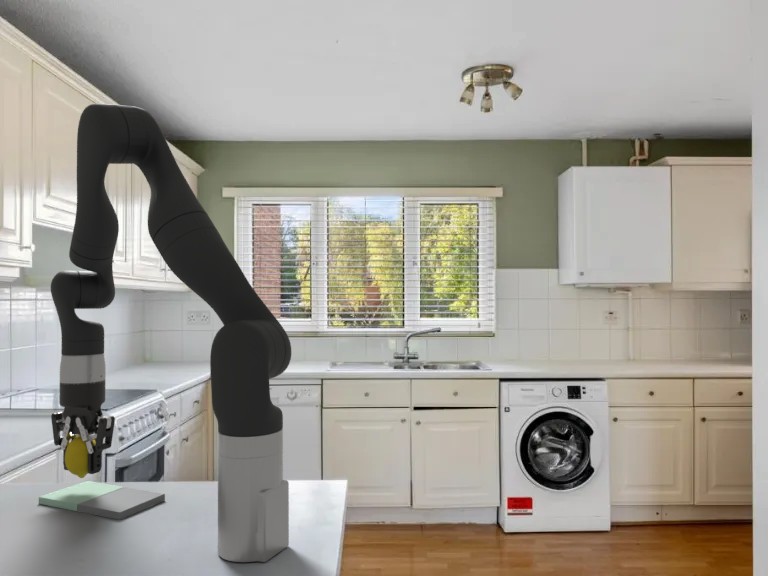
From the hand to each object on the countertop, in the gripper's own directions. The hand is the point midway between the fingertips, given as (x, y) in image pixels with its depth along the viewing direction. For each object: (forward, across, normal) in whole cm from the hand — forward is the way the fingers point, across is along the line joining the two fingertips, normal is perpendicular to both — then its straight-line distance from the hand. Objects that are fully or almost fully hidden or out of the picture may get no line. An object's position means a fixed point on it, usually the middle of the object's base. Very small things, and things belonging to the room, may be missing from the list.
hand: (82, 470), depth 106 cm
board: (+5, -5, 0) cm, 7 cm away
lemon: (+2, 0, 0) cm, 2 cm away
